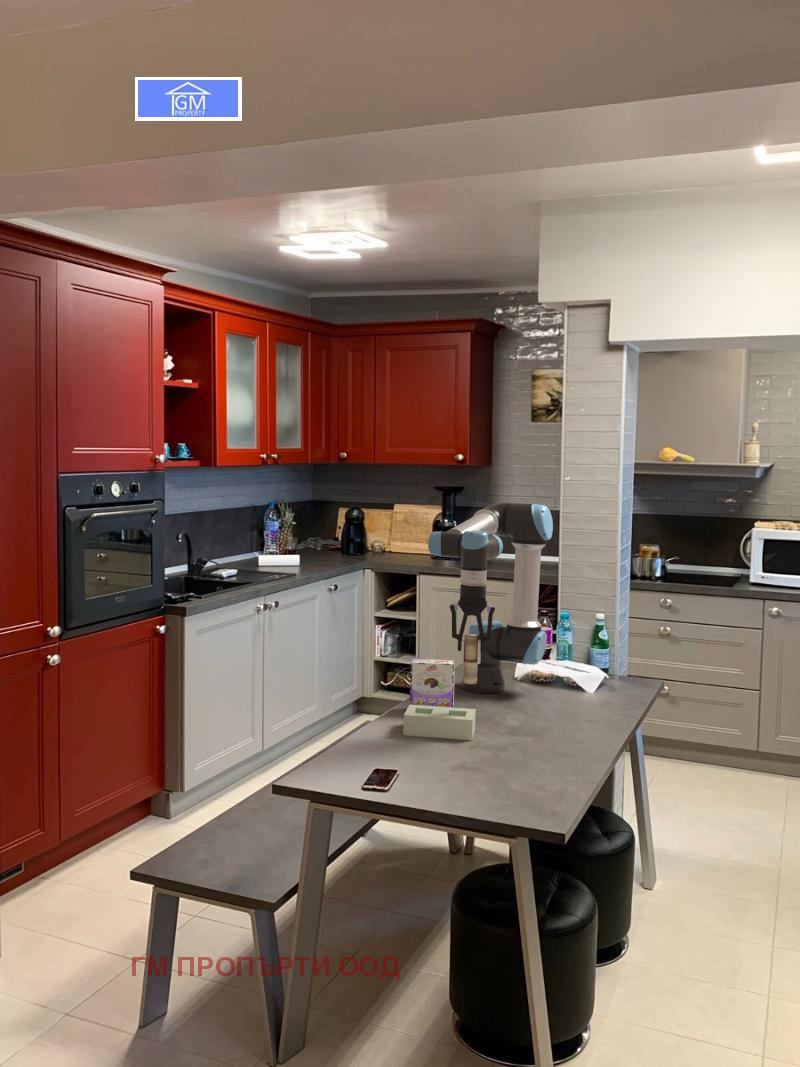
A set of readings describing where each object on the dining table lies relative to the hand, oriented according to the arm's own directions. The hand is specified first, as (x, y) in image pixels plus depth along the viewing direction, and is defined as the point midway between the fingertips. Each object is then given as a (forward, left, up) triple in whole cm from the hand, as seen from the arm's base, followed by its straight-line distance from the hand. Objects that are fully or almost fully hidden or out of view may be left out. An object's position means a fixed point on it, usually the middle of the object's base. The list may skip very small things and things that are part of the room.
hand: (470, 662), depth 280 cm
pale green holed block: (+3, -8, -21) cm, 23 cm away
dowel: (0, 0, -6) cm, 6 cm away
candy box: (-17, -13, -21) cm, 30 cm away
